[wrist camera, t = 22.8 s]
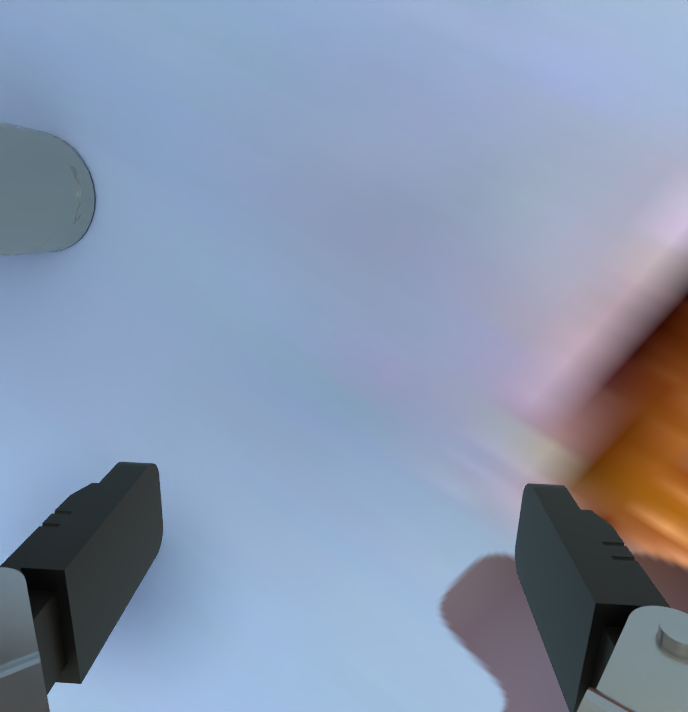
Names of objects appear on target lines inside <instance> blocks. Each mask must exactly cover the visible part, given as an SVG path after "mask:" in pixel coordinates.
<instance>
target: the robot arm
mask: <svg viewBox="0 0 688 712" xmlns="http://www.w3.org/2000/svg"><path fill="white" fill-rule="evenodd" d="M94 199H95V196H94V189H93V183H92V180H91V177H90V174H89V171H88V169H87V168H86V166H85V164H84V162H83V160H82V159H81V158H80V156H79V155H78V154H77V153H76V152H75V150H74V149H73V148H71V147H70V146H69V145H68V144H67V143H65V142H64V141H63V140H61V139H59V138H57V137H55V136H53V135H50V134H46V133H43V132H39V131H34V130H30V129H26V128H22V127H18V126H14V125H11V124H6V123H2V122H0V256H4V255H20V254H32V253H45V252H54V251H61V250H63V249H66V248H68V247H70V246H72V245H73V244H74V243H76V242H77V241H78V240H80V238H81V237H82V236H83V235H84V233H85V232H86V231H87V229H88V226H89V224H90V222H91V220H92V216H93V212H94ZM162 535H163V519H162V506H161V493H160V481H159V471H158V468H157V466H156V465H155V464H153V463H134V462H119V463H117V464H116V465H115V466H114V468H113V469H112V470H111V471H110V472H109V473H108V474H107V475H106V476H105V477H104V478H103V479H102V480H101V481H100V483H91V484H90V485H88V486H86V487H84V488H82V489H81V490H79V491H77V492H75V493H74V494H72V495H70V496H69V497H68V498H67V499H66V500H65V501H64V502H63V503H62V504H61V505H60V506H59V507H58V508H57V509H56V510H55V513H54V514H51V515H50V516H49V517H48V518H47V519H46V520H45V521H44V522H43V525H42V527H41V526H39V527H38V528H37V529H36V530H35V531H34V532H33V533H32V534H31V535H30V536H29V537H28V538H27V539H26V540H25V541H24V542H23V543H22V544H21V545H20V546H19V548H18V549H17V550H16V551H15V552H14V553H13V554H12V555H11V556H10V557H9V558H8V559H7V560H6V561H5V562H4V563H3V564H2V565H1V566H0V712H50V710H49V704H48V699H47V694H48V693H49V691H50V690H51V688H52V687H53V685H54V683H55V682H62V683H77V684H81V683H82V681H83V680H84V678H85V676H86V675H87V673H88V671H89V669H90V668H91V666H92V664H93V663H94V661H95V659H96V658H97V656H98V654H99V652H100V651H101V649H102V647H103V646H104V644H105V642H106V641H107V639H108V637H109V635H110V634H111V632H112V630H113V629H114V627H115V625H116V624H117V622H118V620H119V618H120V617H121V615H122V613H123V612H124V610H125V608H126V607H127V605H128V603H129V602H130V600H131V598H132V596H133V595H134V593H135V591H136V590H137V588H138V586H139V585H140V583H141V581H142V579H143V578H144V576H145V574H146V573H147V571H148V569H149V568H150V566H151V564H152V562H153V561H154V559H155V557H156V556H157V554H158V551H159V548H160V545H161V541H162ZM515 561H516V569H517V574H518V577H519V580H520V583H521V585H522V587H523V590H524V593H525V595H526V598H527V601H528V603H529V606H530V609H531V612H532V614H533V617H534V619H535V622H536V625H537V627H538V630H539V633H540V635H541V638H542V640H543V643H544V646H545V648H546V651H547V654H548V656H549V659H550V662H551V664H552V667H553V669H554V672H555V674H556V677H557V680H558V683H559V685H560V688H561V690H562V693H563V696H564V698H565V701H566V704H567V706H568V709H569V711H570V712H688V614H686V613H684V612H681V611H678V610H675V609H672V608H670V606H669V605H668V603H667V602H666V601H665V599H664V598H663V597H662V595H661V594H660V592H659V591H658V590H657V588H656V587H655V585H654V584H653V583H652V581H651V580H650V578H649V577H648V576H647V574H646V573H645V571H644V570H643V569H642V567H641V566H640V565H639V563H638V562H637V561H635V560H634V556H633V555H632V553H631V552H630V551H629V549H628V548H627V546H624V542H623V541H622V539H621V538H620V537H619V535H618V534H617V532H616V531H615V530H614V528H613V527H612V526H611V525H610V524H609V523H607V522H606V521H605V520H603V519H602V518H601V517H599V516H598V515H597V514H595V513H594V512H593V511H591V510H581V509H580V508H579V506H578V505H577V503H576V502H575V500H574V499H573V497H572V496H571V494H570V493H569V491H568V490H567V488H566V487H565V486H563V485H548V484H527V485H526V486H525V488H524V492H523V497H522V504H521V511H520V518H519V525H518V532H517V539H516V546H515Z"/></svg>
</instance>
